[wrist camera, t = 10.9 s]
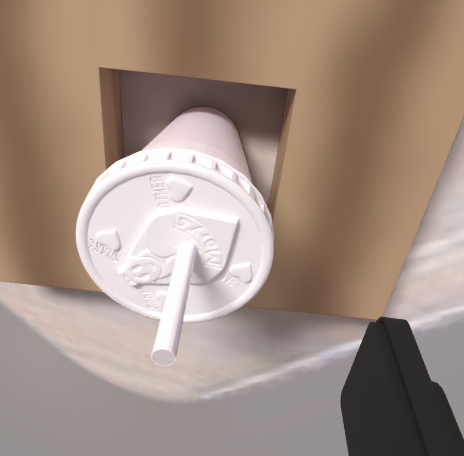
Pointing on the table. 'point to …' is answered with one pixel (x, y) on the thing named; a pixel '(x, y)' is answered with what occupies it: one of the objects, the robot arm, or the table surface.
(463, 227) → the table surface
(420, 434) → the robot arm
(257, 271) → the smoothie
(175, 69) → the socket board
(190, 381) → the table surface
